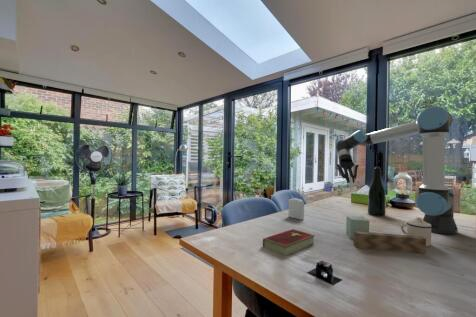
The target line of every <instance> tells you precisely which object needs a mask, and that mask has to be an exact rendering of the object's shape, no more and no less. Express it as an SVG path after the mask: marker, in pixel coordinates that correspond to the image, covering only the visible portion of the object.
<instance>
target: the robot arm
mask: <svg viewBox="0 0 476 317" xmlns="http://www.w3.org/2000/svg"><path fill="white" fill-rule="evenodd" d="M452 124H453V116H452V114H451V113H450V112H449V111H448V110H446V108H443V107H441V106H436V105H435V106H429V107H426V108H424V109H422V110H421V111H420V112H419V113H417V116H416V120H415V121H411V122H407V123H403V124H399V125H395V126H392V127H388V128H384V129H381V130H377V131H372V132H370V133H365V131H364V130H362V129H358V130H356V131H355V132H353V133H351V135H349V136H347V137H346V138H344V137H342V138H339V139H338V140H336V142H335V148H336V152H337V157H338V161H339V163H337V164H336V166H335V168H336V169H337V170H338V173H339V174H340V176H341V178H342V179H345V181H346V183H347V184H348V186H349V189H350V190H351V189H354V187H355V180H356V179H357V175H358V168H359V164H355V163H354V162H353V157H352V154H351V150H352V149H354V148H355V147H357V146H362V147H369V146H371V145H375V144H378V143H383V142H387V141H393V140H397V139H401V138H406V137H410V136H414V135H418V136H420V137H421V138H422V176H421V177H422V178H421V181H422V183H421V185H419V186H418V196H416V200H415V205H416V207H417V208H418V210H419V211H420V212H422V213H424V215H423V218H422V220H423V221H425V222H426V223H429V224H431V225H432V228H431V233H436V234H442V235H449V236H451V235H452V236H453V235H458V233H459V228H458V226H457V224H456V221H455V219H454V211H455V209H454V208H455V207H454V204H455V202H454V201H455V192H454V190H453V189H451V188H449V187H447V186H446V184H445V183H446V182H445V180H446V176H445V173H446V172H445V170H446V168H445V166H446V163H445V162H446V137H447V136H448V135H450V127H451V125H452ZM353 169H354V170H353Z"/></svg>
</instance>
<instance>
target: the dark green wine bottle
mask: <svg viewBox="0 0 476 317" xmlns="http://www.w3.org/2000/svg"><path fill="white" fill-rule="evenodd" d="M386 196H387V195H386V189H385V187H384V183H383V182H382V169H381V167H380V166H375V167H374V168H373V178H372V182H371V185H370V187H369V188H368V198H367V199H368V200H367V214H369V216H370V215H371V216H374V217H375V216H376V217H384V216H386V213H387V212H386V206H387V204H386Z"/></svg>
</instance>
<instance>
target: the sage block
mask: <svg viewBox="0 0 476 317" xmlns="http://www.w3.org/2000/svg"><path fill="white" fill-rule="evenodd" d="M345 227H346V229H345V230H346V232H345V234H346V235H348V236H349V238H350V239H354V231H359V232H370V219H368V218H366V217H365V216H359V215H346V225H345Z"/></svg>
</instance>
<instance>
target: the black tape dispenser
mask: <svg viewBox="0 0 476 317" xmlns="http://www.w3.org/2000/svg"><path fill="white" fill-rule="evenodd" d="M333 271H334V268H333V264H331V263H329V262H326V261H323V260H320V261H318V262H316V265H315V267H314V268H313V269H310V270H309V271H307V272H306V274H308V275H310V276H312V277H315V278H316V279H319V280H321V281H322V282H324V283H327V284H329V285H331V286H335V285H337V284H338V283H340V282H341V281H343V279H342V278H340V277H338V276H336V275H334V274H333V273H334V272H333Z"/></svg>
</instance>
